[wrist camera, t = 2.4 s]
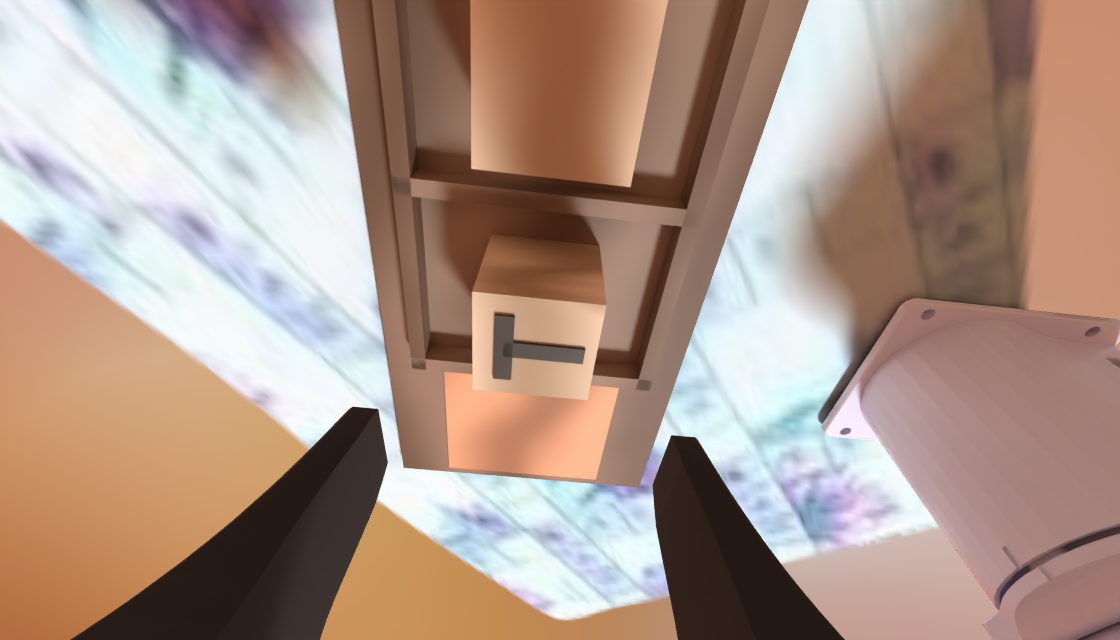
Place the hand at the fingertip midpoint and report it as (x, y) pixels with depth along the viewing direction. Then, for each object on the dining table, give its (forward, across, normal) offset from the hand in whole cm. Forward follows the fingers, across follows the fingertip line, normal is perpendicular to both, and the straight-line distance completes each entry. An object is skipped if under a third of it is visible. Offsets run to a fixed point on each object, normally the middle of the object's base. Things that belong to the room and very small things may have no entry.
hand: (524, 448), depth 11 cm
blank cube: (+8, 0, -8) cm, 11 cm away
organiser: (+8, 0, 0) cm, 8 cm away
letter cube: (+8, 0, 0) cm, 8 cm away
